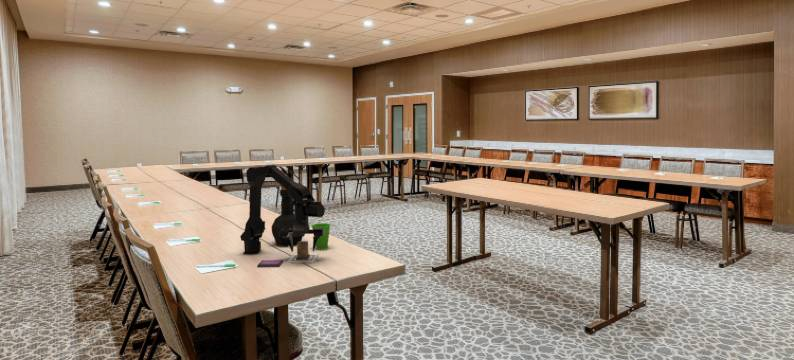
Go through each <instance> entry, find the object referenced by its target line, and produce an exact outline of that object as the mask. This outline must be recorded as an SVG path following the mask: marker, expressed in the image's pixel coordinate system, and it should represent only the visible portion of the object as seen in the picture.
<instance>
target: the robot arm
mask: <svg viewBox="0 0 794 360" xmlns="http://www.w3.org/2000/svg"><path fill="white" fill-rule="evenodd" d="M245 174H246V182H247V183H248V185H249V213H248V215H249V216H248V219H247V221H246V223H245V226H244V231H243V232H242V233H241V235H240V236H239V237H240V240H241V241H242V242H243V243H244V245H243V247H244V248H243V249H244V252H243V254H244V255H257V254H259V253H260V252H261V251H262V242H261V240H260V239H261V238H263V234H264V233H265V230H266V221H265V220H263V219H262V216H261V213H262V186H263V185H264V182H265V181H266V177H267V176H269V177H271V178H272V179H273V181H276V182H277V183H278V184H279V185H280V186H281V185H282V186H283V187H284V188H285V189H286V190H287V191H288V194H289V195H290V197H291V198H292V200H293V202H292V203H290V205H292V206H293V211H294V214H295V221H294V222H295V223H294V226H293V229H292V230H291V228H282V229H281V230H280V231H279V237H282V238H284V239H286V240H287V242H288V244H289V246H288V247H289V249H290V251H291V252H292V253H293V252H294V246H293V239H292V234H293V236H294V237H296V236H301V237H302V238H303V237H305V236H306V235H313V237H312V239H313V240H312V251H313V252H315V250H316V243H317V240H318V238H320V237H321V236H323V235H324V234H325V229H324V227H315V229H312V228H310V224H309V223H310V222H309V219H310V218H322V217H324V215H325V213H326V212H325V210H326V208H325V205H324V204H323V203H322V201H321V200H318V201H316V200H315V198H314V197H313V195H312V194H311V192H310V188H309V187H307V186H306V185H304V184H302V183H300V182H296V181H294V180H293V179H292V178H290V177H289V176H288V175H287V174H285V173H284V172H283V171H282V170H281V169H280V168H278V167H277V165H275V164H267V165H264V166H262V165H258V166H250V167H248V168H247V169H246V172H245Z"/></svg>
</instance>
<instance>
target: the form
mask: <svg viewBox="0 0 794 360" xmlns="http://www.w3.org/2000/svg"><path fill="white" fill-rule="evenodd" d="M319 256H320V254H310V257H309V259H308V260H296V257H297V254H292V255H291V256H290V257H289V258H288V260H287V261H286V263H290V264H292V263H293V264H294V263H295V264H296V263H300V264H301V263H316V261H317V260H318V258H319Z"/></svg>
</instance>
